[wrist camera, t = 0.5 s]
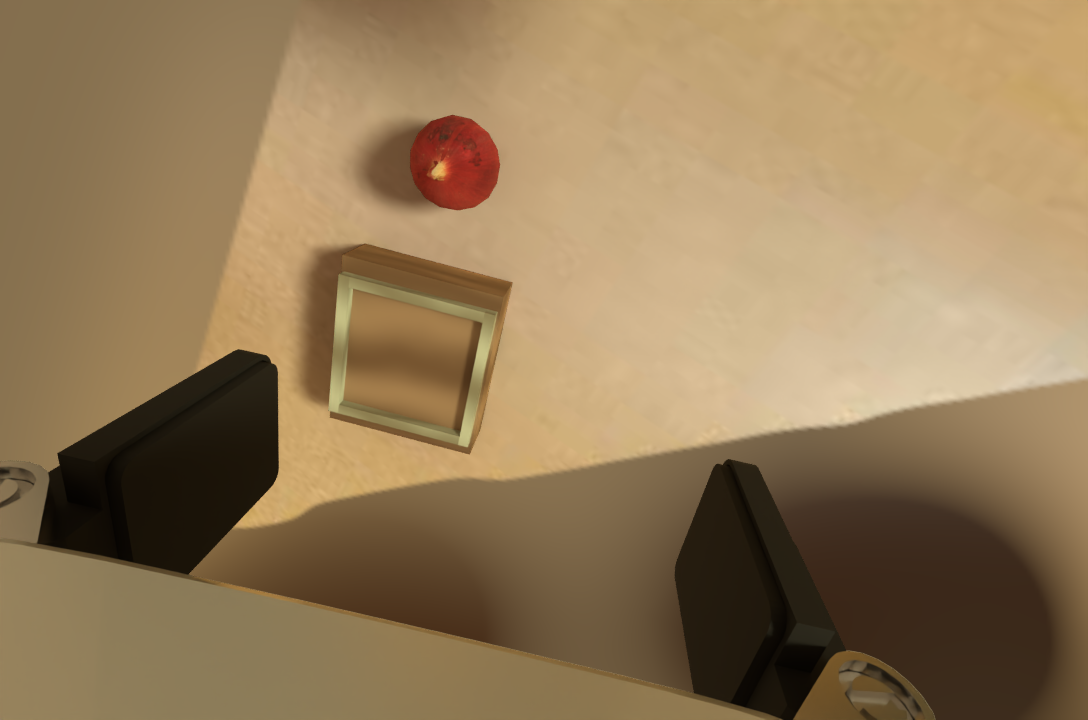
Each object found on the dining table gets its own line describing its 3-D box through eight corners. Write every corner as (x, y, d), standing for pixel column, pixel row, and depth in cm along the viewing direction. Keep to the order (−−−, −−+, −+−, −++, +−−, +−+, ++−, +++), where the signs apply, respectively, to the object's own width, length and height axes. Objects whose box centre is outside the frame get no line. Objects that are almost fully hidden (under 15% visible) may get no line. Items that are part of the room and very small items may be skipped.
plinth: (365, 243, 42) (336, 257, 37) (512, 282, 41) (501, 300, 37) (351, 395, 47) (325, 422, 43) (480, 429, 47) (467, 460, 43)
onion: (433, 109, 37) (392, 104, 30) (513, 125, 37) (491, 125, 30) (426, 194, 39) (386, 208, 32) (501, 209, 39) (477, 228, 32)
